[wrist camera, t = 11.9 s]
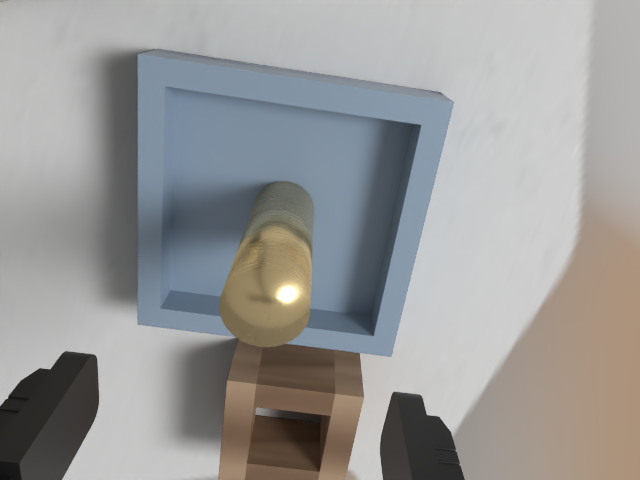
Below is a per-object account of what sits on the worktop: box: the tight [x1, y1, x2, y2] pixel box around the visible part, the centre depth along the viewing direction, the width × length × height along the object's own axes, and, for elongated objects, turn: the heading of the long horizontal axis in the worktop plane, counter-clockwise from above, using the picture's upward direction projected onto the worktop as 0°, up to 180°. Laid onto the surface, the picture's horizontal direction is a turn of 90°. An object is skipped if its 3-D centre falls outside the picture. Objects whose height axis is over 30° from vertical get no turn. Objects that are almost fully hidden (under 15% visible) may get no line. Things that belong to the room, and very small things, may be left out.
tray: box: [138, 49, 454, 357], centre depth 27 cm, size 14×14×3 cm
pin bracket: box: [218, 339, 364, 480], centre depth 32 cm, size 8×8×4 cm
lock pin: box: [219, 181, 314, 347], centre depth 23 cm, size 3×3×10 cm
